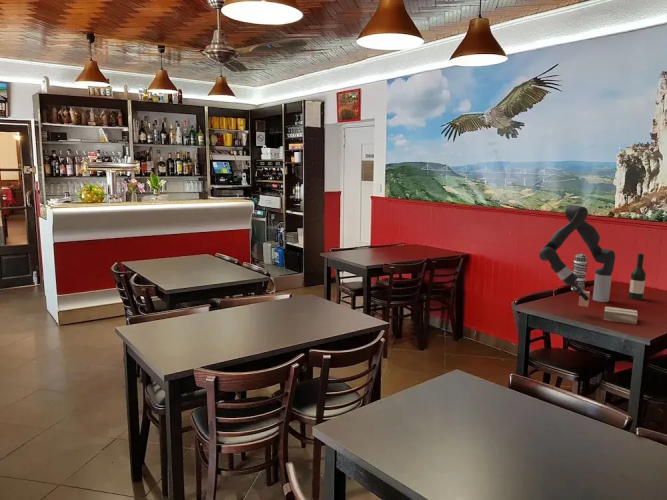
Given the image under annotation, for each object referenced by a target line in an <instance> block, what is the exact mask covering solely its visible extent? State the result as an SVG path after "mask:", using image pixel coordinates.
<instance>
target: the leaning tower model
mask: <svg viewBox="0 0 667 500" xmlns="http://www.w3.org/2000/svg"><path fill="white" fill-rule="evenodd" d="M587 261H588V256H587V255H586V254H584V253H576V255H574V260H573V262H572V263H573V264H572V272H573V273H574V274H575V275H576V276H577V277H578V278H577V280H576V282H579V283H580V284H581V286H582V287H583V288H584V289H586V288H585V287H586V285H585V284H586V275H587V270H588V269H587V267H588V262H587ZM570 289H571V290H572V291H574V290H573V288H572V285H570Z"/></svg>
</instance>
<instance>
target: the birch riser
mask: <svg viewBox="0 0 667 500" xmlns="http://www.w3.org/2000/svg"><path fill="white" fill-rule="evenodd" d="M638 318H639V317H638V310H637V309H636V310H635V309H628V308H620V307H615V306H614V307H613V306H604V314H603V321H610V322H616V323H624V324H630V325H637V323H638Z"/></svg>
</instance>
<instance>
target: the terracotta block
mask: <svg viewBox="0 0 667 500" xmlns="http://www.w3.org/2000/svg"><path fill="white" fill-rule="evenodd" d="M583 292H584V293H585V294H586V296H587V297H588V298H589V299H588V300H587V301H585V300H584V298H583V297H582V296H579V295H578V296H579V297H578V306H580V307H586V308H589V303H590V297H591V295H590V294H591V292H590V291H589V290H588V291H587V290H585V291H583ZM579 293H581V292H579Z"/></svg>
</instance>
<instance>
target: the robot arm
mask: <svg viewBox="0 0 667 500" xmlns="http://www.w3.org/2000/svg"><path fill="white" fill-rule="evenodd" d="M564 215H565V217H566V219H567V221H569V222H568V223H567V224H566V225H564V226H562V227H561V228H559V229H558V230H557V231H555V232H554V234H553V235H552V236H551V238H550V239H549V241H548V242H547V243H546V244H545V246H543V248H542V249H541V250H540V252H539V255H538V256H539V259H540V261H543V262H547V261H548V262H549V263H550V268H551V269H552V271H553V272H554V273H555V274H556V275H557V276H558V278H559V279H560V280H561V281H562V282H563V283H564V285H565V286H572V288H573V290H572V291H574V292H575V293H576V294H578V296H582V297H583V298H584V300H585V301H587V300H588V299H589V300H590V297H589V298H588V297H587V296H586V294H585V293H584V292H583V291H586V290H585V289H586V288H585V287H584V288H585V289H584V288H583V287H582V286H581V284H580V283H579V282H576V280H577V278H578V277H577V276H576V275H575V274H574V273H573V270H571V269H570V267H568V266H567V265H566V263H564V261H562V259H561V258H560V256H559V254H558V252H557V251H558V250H559V249H560V248H561V247H562V245H563V244H564V243H565V241H566V240H567V238H568V237H569V236H570V235H571V234H572V233H573V232H574V231H575V230H576V231H577V233H578V234H579V236H580V238H581V239H582V240H583V242H584V243H585V245H586V246H587V248H588V250H589V251H590V253H591V255H592V258H593V259H594V261H595V262H597V264H599V263H600V264H603V266H602V267H600V268H596V269H595V275H594V281H593V282H594V283H593V290H592V291H593V293H592V300H593V301H595V302H599V303H608V302H609V300H610V294H611V285H612V284H611V283H612V274H613V271H614V267H615V260H616V253H615V252H614V250H611V249H607V248H602V247H601V246H600V245H599V243H600V240H601V236H600V234H599V232H598V231H597V229H596V227H594V226H593V225H591V224H590V223H589V222H587V221H586V219H587V217H588V215H589V211H588V208H586V207H585V206H581V205H574V204H573V205H568V206H567V207H566V208H565V211H564ZM580 292H581V293H580Z"/></svg>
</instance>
